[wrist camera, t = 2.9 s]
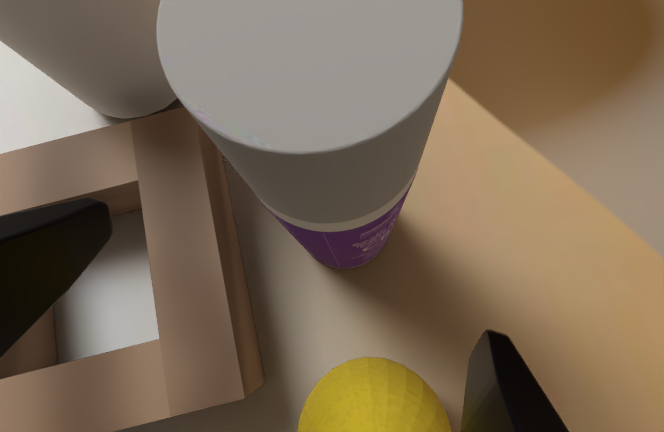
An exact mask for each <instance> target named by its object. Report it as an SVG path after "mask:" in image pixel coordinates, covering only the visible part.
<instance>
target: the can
mask: <svg viewBox="0 0 664 432" xmlns="http://www.w3.org/2000/svg"><path fill="white" fill-rule="evenodd" d="M160 1H161V0H0V41H2V42H3V43H4V44H6V45H7V46H8V47H10V48H11V49H12V50H14V51H15V52H17V53H18V54H19V55H21V56H22V57H23V58H25V59H26V60H27V61H29V62H30V63H31V64H33V65H34V66H35V67H37V68H38V69H39V70H41V71H42V72H44V73H45V74H46V75H48V76H49V77H50V78H52V79H53V80H54V81H56V82H57V83H58V84H60V85H61V86H62V87H64V88H65V89H67V90H68V91H69V92H71V93H72V94H73V95H75V96H76V97H77V98H79V99H80V100H81V101H83V102H84V103H85V104H87V105H88V106H90V107H92V108H93V109H95V110H97V111H98V112H100V113H102V114H104V115H107V116H112V117H117V118H123V119H127V118H135V117H144V116H147V115H150V114H152V113H154V112H157V111H159V110H161V109H164V108H166V107H167V106H168V105H170V104H171V103H172V102H173V101H175V100H176V99H177V96H176V94H175V93H174V91H173V90H172V88H171V86H170V84H169V82H168V80H167V78H166V76H165V73H164V70H163V67H162V65H161V61H160V57H159V52H158V45H157V17H158V10H159V5H160Z"/></svg>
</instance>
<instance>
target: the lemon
mask: <svg viewBox="0 0 664 432" xmlns="http://www.w3.org/2000/svg"><path fill="white" fill-rule="evenodd" d="M297 432H452V431H451V427H450V424H449V421H448V417H447V414H446V412H445V410H444V408H443V407H442V405H441V403H440V401H439V399H438V398H437V396H436V394H435V392H434V391H433V390H432V389H431V388H430V387H429V386H428V385H427V383H426V382H425V381H424V380H423V379H422V378H421V377H420V376H419V375H418V374H416V373H415V372H413V371H411V370H410V369H408V368H407V367H405V366H404V365H402V364H399V363H396V362H393V361H391V360H388V359H385V358H373V357H364V358H359V359H354V360H350V361H348V362H345V363H343V364H341V365H339V366H337V367H335V368H333V369H332V370H331V371H330V372H329V373H327V374H326V375H325V376H324V377H323V378H322V379H320V380H319V382H318V383H317V385H316V386H315V387H314V389H313V390H312V392H311V393H310V395H309V396H308V398H307V400H306V403H305V405H304V408H303V410H302V413H301V416H300V418H299V424H298V431H297Z"/></svg>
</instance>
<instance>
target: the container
mask: <svg viewBox="0 0 664 432" xmlns="http://www.w3.org/2000/svg"><path fill="white" fill-rule="evenodd" d="M463 13H464V12H463V0H161V1H160V5H159V10H158V17H157V45H158V52H159V57H160V61H161V65H162V67H163V70H164V73H165V76H166V78H167V80H168V82H169V84H170V86H171V88H172V90H173V91H174V93H175V94H176V96H177V98H178V99H179V100H180V101H181V103H182V104H183V105H184V107H185V108H186V109H187V110H188V112H189V113H190V114H191V115H192V117H193V118H194V119H195V120H196V121H197V123H198V124H199V125H200V126H201V128H202V129H203V130H204V131H205V133H206V134H207V135H208V136H209V138H210V139H211V140H212V141H213V142H214V144H215V145H216V146H217V147H218V149H219V150H220V151H221V152H222V154H223V155H224V156H225V157H226V159H227V160H228V161H229V162H230V164H231V165H232V166H233V167H234V168H235V170H236V171H237V172H238V173H239V175H240V176H241V177H242V178H243V180H244V181H245V182H246V183H247V185H248V186H249V187H250V188H251V190H252V191H253V192H254V193H255V194H256V196H257V197H258V199H259V200H260V201H261V202H262V203H263V205H264V206H265V207H266V208H267V209H268V210H269V211H270V212H271V213H272V214H273V215H274V216H275V217H276V218H277V219H278V221H279V222H280V223H281V224H282V225H283V226H284V227H285V228H286V229H287V230H288V231H289V232H290V233H291V234H292V235H293V236H294V237H295V238H296V239H297V241H298V242H299V243H300V244H301V245H302V246H303V247H304V248H305V249H306V250H307V251H308V252H309V253H310V254H311V255H312V256H313V257H314V258H315V259H317V260H318V261H320V262H321V263H323V264H325V265H327V266H330V267H333V268H339V269H349V268H355V267H359V266H362V265H364V264H366V263H368V262H369V261H371V260H372V259H374V258H375V257H376V256H377V255H378V254H379V253H380V251H381V250H382V249H383V247H384V246H385V244H386V242H387V240H388V238H389V235H390V233H391V231H392V228H393V226H394V224H395V221H396V219H397V217H398V215H399V212H400V210H401V208H402V205H403V203H404V201H405V198H406V196H407V194H408V191H409V189H410V187H411V185H412V182H413V180H414V178H415V175H416V172H417V169H418V165H419V162H420V159H421V156H422V153H423V150H424V148H425V145H426V142H427V139H428V136H429V133H430V130H431V127H432V124H433V121H434V118H435V115H436V112H437V109H438V106H439V104H440V101H441V98H442V95H443V92H444V89H445V86H446V83H447V80H448V77H449V74H450V71H451V68H452V65H453V62H454V59H455V57H456V54H457V51H458V47H459V43H460V40H461V34H462V28H463Z"/></svg>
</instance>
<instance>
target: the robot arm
mask: <svg viewBox="0 0 664 432" xmlns="http://www.w3.org/2000/svg"><path fill="white" fill-rule="evenodd" d="M112 231H113V229H112V223H111V217H110V211H109V207H108V205H107V203H105V202H104V201H101V200H98V199H95V198H91V197H87V198H82V199H77V200H72V201H68V202H63V203H58V204H54V205H49V206H44V207H40V208H35V209H30V210H26V211H21V212H16V213H11V214H7V215H2V216H0V358H1V357H2V356H3V355H4V354H5V353H6V352H7V351H8V350H9V349H10V348H11V347H12V346H13V345H14V344H15V343H16V342H17V341H18V340H19V339H20V338H21V337H22V336H23V335H24V334H25V333H26V332H27V331H28V330H29V329H30V328H31V327H32V326H33V325H34V324H35V323H36V322H37V321H38V320H39V319H40V318H41V317H42V316H43V315H44V314H45V313H46V312H47V311H48V310H49V309H50V308H51V307H52V306H53V305H54V304H55V303H56V302H57V301H58V300H59V299H60V298H61V297H62V295H63V294H64V293H65V292H66V291H67V290H68V289H69V288H70V287H71V286H72V285H73V283H74V282H75V281H76V280H77V279H78V277H79V276H80V275H81V274H82V272H83V271H84V270H85V269H86V268H87V266H88V265H89V264H90V263H91V261H92V260H93V259H94V258H95V256H96V255H97V254H98V253H99V252H100V250H101V249H102V248H103V247H104V245H105V244H106V243H107V242H108V240H109V239H110V237H111V235H112ZM461 432H569V430H568V429H567V427H566V426H565V424H564V423H563V421H562V420H561V418H560V416H559V415H558V413H557V412H556V410H555V409H554V407H553V405H552V404H551V402H550V401H549V399H548V398H547V396H546V394H545V393H544V391H543V390H542V388H541V387H540V385H539V383H538V382H537V380H536V379H535V377H534V376H533V374H532V373H531V371H530V369H529V368H528V366H527V365H526V363H525V362H524V360H523V358H522V357H521V355H520V354H519V352H518V351H517V349H516V347H515V346H514V344H513V343H512V341H511V340H510V338H509V337H508V336H507V335H506V334H503V333H500V332H497V331H494V330H491V329H487V330H486V331H484V333H483V334H482V336H481V338H480V339H479V341H478V343H477V344H476V346H475V348H474V349H473V351H472V353H471V355H470V358H469V363H468V372H467V380H466V389H465V397H464V406H463V415H462V424H461Z"/></svg>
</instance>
